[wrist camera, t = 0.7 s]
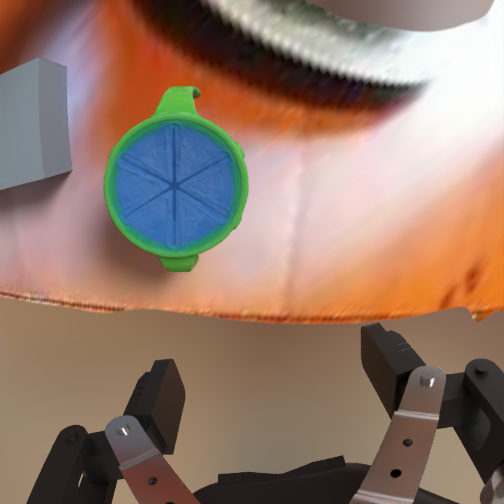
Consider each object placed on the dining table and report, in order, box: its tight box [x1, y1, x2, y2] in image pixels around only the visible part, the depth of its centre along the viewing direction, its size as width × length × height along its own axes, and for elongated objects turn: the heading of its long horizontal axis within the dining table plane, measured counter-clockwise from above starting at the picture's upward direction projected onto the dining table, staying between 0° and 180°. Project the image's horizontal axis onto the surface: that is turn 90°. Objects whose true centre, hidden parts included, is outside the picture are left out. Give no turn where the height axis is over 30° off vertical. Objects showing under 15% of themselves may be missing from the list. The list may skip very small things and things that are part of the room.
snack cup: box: [104, 86, 249, 272], centre depth 25 cm, size 16×10×10 cm
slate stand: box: [0, 57, 72, 190], centre depth 23 cm, size 12×14×6 cm
